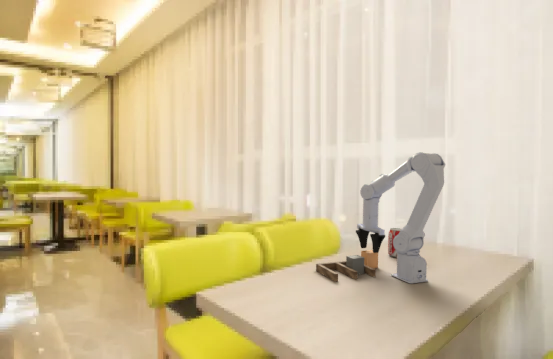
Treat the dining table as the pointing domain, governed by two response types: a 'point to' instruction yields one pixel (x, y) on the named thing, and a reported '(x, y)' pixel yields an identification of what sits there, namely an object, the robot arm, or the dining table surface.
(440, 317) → the dining table surface
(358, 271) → the charcoal plug
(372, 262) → the orange block
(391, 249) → the soda can
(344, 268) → the cable comb
